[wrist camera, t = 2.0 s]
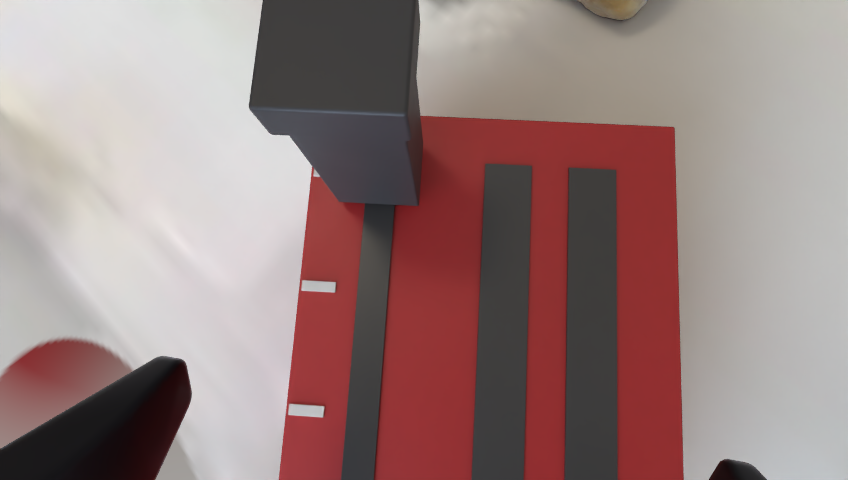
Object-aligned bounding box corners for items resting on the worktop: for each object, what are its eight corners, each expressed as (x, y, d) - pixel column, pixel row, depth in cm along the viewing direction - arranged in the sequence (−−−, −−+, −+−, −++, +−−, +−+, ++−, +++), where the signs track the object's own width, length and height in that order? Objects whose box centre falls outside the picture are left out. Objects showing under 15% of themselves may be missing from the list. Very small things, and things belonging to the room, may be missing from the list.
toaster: (604, 593, 21) (701, 746, 13) (318, 568, 22) (245, 701, 14) (604, 192, 24) (683, 118, 16) (354, 180, 25) (311, 102, 17)
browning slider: (423, 215, 16) (407, 116, 9) (332, 210, 16) (246, 108, 9) (428, 134, 16) (417, -20, 9) (340, 130, 16) (264, -25, 9)
